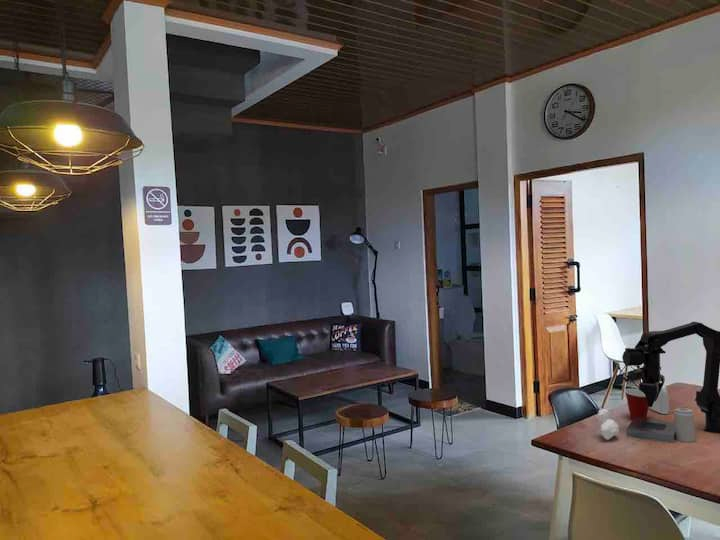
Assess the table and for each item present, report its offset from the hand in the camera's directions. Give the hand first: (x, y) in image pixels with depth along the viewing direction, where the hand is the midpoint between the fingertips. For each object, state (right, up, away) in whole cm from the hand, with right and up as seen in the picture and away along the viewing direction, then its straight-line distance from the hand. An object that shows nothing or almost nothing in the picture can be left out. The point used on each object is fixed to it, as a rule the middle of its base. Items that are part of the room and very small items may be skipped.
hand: (652, 404), depth 214 cm
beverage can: (+8, -12, -8) cm, 17 cm away
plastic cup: (+4, -11, +18) cm, 22 cm away
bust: (-18, -13, -2) cm, 23 cm away
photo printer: (+18, -10, +28) cm, 34 cm away
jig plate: (+1, -12, +1) cm, 12 cm away
